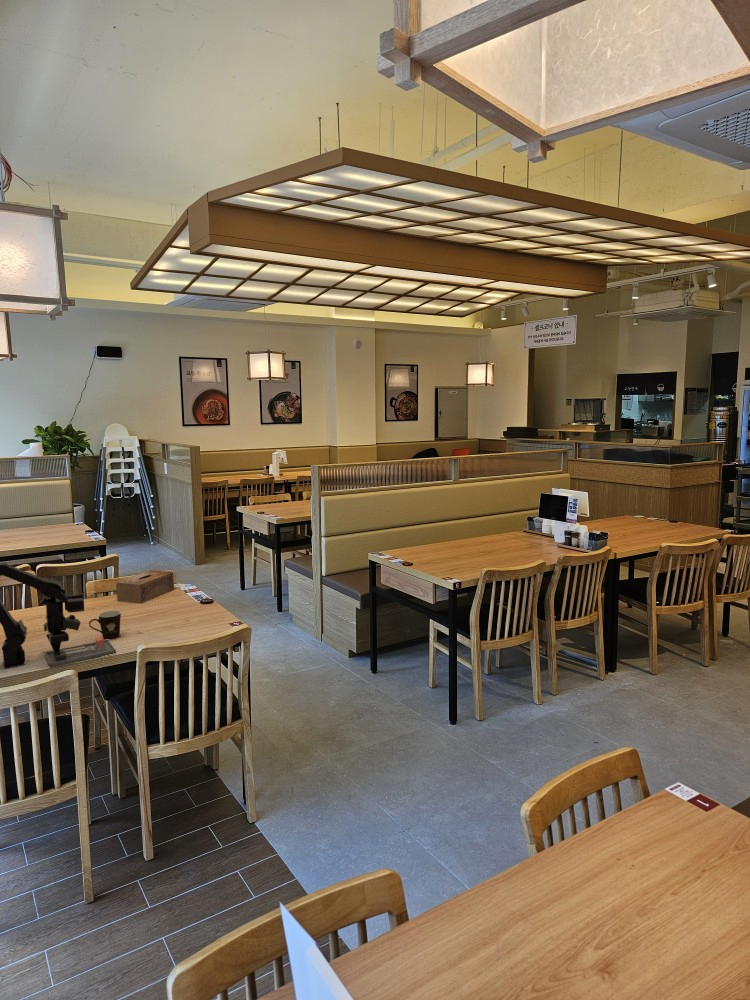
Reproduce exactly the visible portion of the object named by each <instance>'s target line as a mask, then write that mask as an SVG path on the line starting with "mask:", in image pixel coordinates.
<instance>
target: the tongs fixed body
mask: <svg viewBox="0 0 750 1000" xmlns="http://www.w3.org/2000/svg"><path fill="white" fill-rule="evenodd" d="M104 650H105V645H104V646H99V647H97V645H91V646H88V647H87V648H85V649H80V650H75V651H70V652H64V653H59V654H55V661H61V660H65V659H70V658H75V657H79V656H84V655H89V654H93V653H96V652H99V651H104Z"/></svg>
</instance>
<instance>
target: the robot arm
mask: <svg viewBox="0 0 750 1000" xmlns="http://www.w3.org/2000/svg"><path fill="white" fill-rule="evenodd" d="M1 576H4V577H6V578H9V579H10V580H11V579H12V580H13V581H17V582H19V583H22V584H24V585H25V586H29V587H32V588H34V589H35V590H36V591H38V592H39V593H40V594H42V595H43V596H44V597H43V598H42V599H41V600H40V602H39V604H40V605H45V609H46V610H45V612H46V613H45V614H46V615H45V620H46V622H45V623H44V624H43V632H47V633H48V634H46V635H45V636H46V638H47V640H48V642H49V643H50V646H51V647H52V649H53V650H54V651H59V650H60V649H61V644H62V643H64V642H68V641H69V640H70V636H69V633H68V632H67V629H68V630H74V631H79V629H80V625H81V620H79V619H78V618H76V616H75V615H74V614H70V615H69V616H67V617H66V616H65V615H64V610H65V611H66V612H68V613H79V612H85V599H84V593H77V594H75V593H74V594H69V593H68V592H67V591H66V590H65V589H64V588H63V585H62V582H61V581H60V580H57V579H53V578H48V577H42V576H38V575H36V574H34V573H30V572H28V571H25V570H23V569H21V568H18V567H15V566H14V565H10V564H9V563H7V562H0V577H1ZM0 624H1V626H2V628H3V633H4V636H5V639H4V641H3V643H2V646H1V651H2V658H3V660H2V661H3V663H2V664H3V668H4V669H5V670H6V669H9V668H10V667H11V668H14V667H21V666H24V665H25V662H26V655H25V654H26V653H25V649H24V648H23V644H24V643H25V642H26V639H27V636H28V631H27V630H28V627H27V626H25V625H24V622H23V620H22V619H19V620H18V621H17V620H16V619H14V617H13V616H12V614H11V613H10V611H9V610H8V608H7V607H6V605H5V603H4V602H3V601H2V599H0ZM53 650H52V651H53Z"/></svg>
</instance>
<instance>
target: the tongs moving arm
mask: <svg viewBox="0 0 750 1000" xmlns="http://www.w3.org/2000/svg"><path fill="white" fill-rule="evenodd" d="M80 649H85V646H83V647H77V648H71V649H66V650H59V651H54V659H55V654H59V653H64V652H70V651H75V650H80Z"/></svg>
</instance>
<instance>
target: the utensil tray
mask: <svg viewBox="0 0 750 1000" xmlns="http://www.w3.org/2000/svg"><path fill="white" fill-rule="evenodd" d="M91 645H96V641H94V642H89V643H83V644H80V645H79V644H78V645H75V646H70V647H69V646H68V647H64V648H60V650H66V649H71V648H77V647H83V646H85V648H87V647H88V646H91ZM104 645H105V650H104V651H99V652H96V653H93V654H89V655H84V656H79V657H75V658H70V659H65V660H61V661H55V659H54V650H48V651H44V654H43V655H44V657H45V660H46V663H47V662H48V663H47V665H48V667H49V669H51V668H57V667H60V666H61V667H62V666H66V665H70V664H74V663H75V662H76V663H78V662H79V663H80V662H85V661H89V660H93V659H98V658H103V657H102V656H104V657H106V656H105V655H108V656H110V655H109V654H113V653H116V654H117V649H116V648H115V647H114V646H113V645H112V643H111V641H109V640H105V639H104ZM113 655H114V654H113ZM76 663H75V664H76Z"/></svg>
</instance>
